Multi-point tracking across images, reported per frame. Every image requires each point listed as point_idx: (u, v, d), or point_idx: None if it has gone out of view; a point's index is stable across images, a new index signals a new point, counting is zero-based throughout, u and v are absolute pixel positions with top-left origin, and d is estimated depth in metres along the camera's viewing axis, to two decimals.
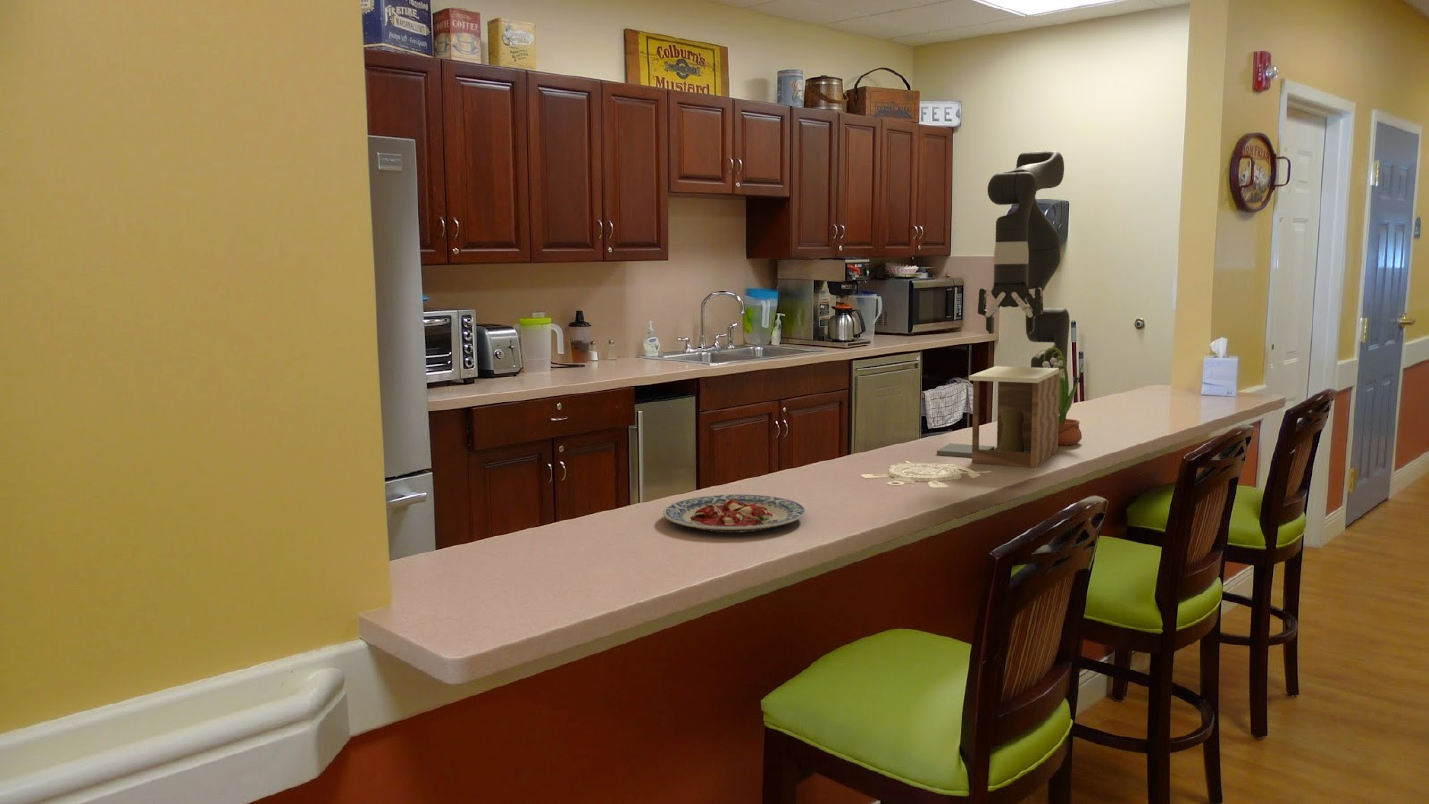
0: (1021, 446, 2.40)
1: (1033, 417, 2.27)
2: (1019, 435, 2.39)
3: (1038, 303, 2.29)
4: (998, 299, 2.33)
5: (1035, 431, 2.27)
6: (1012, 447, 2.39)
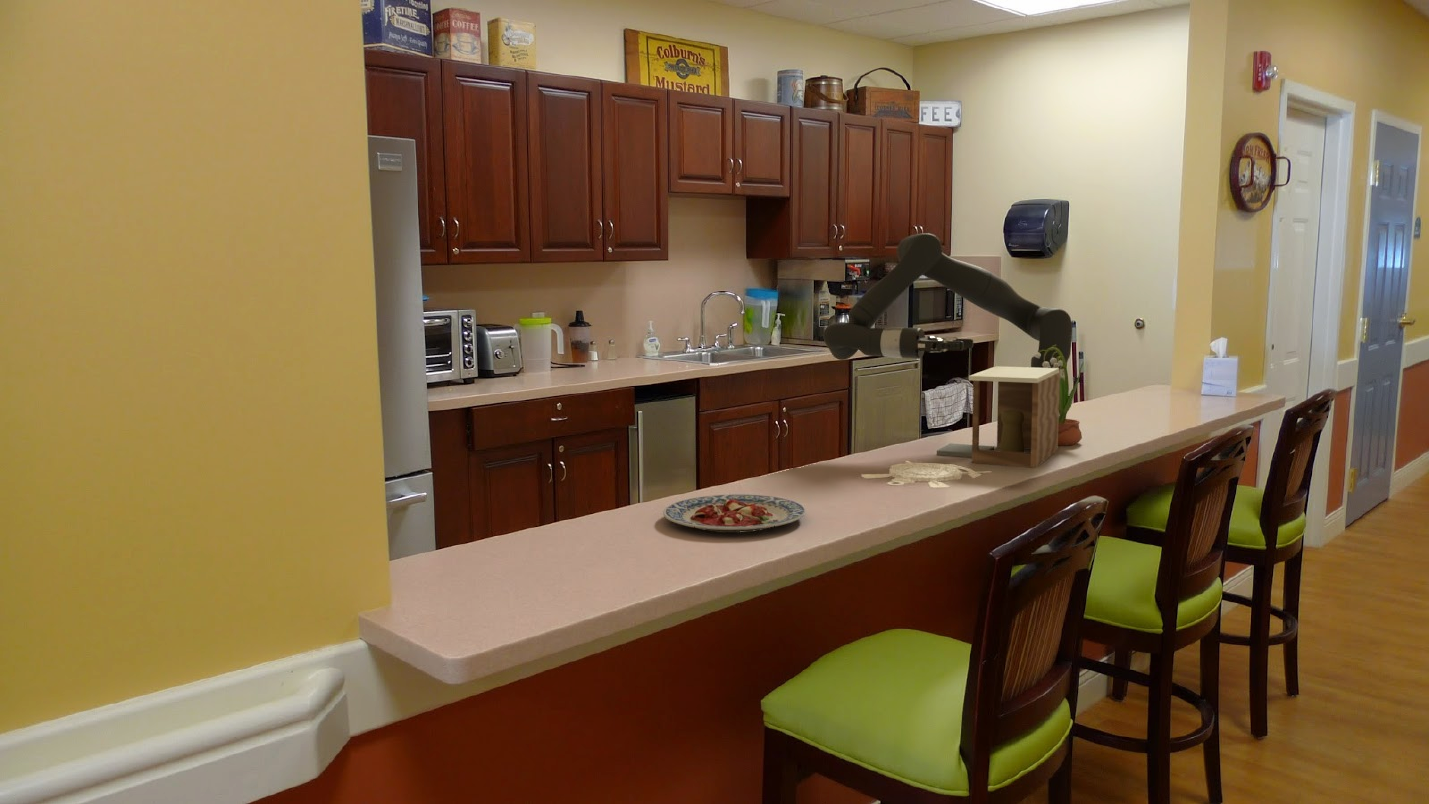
0: (1021, 446, 2.40)
1: (1033, 417, 2.27)
2: (1019, 435, 2.39)
3: (931, 350, 2.42)
4: None
5: (1035, 431, 2.27)
6: (1012, 447, 2.39)
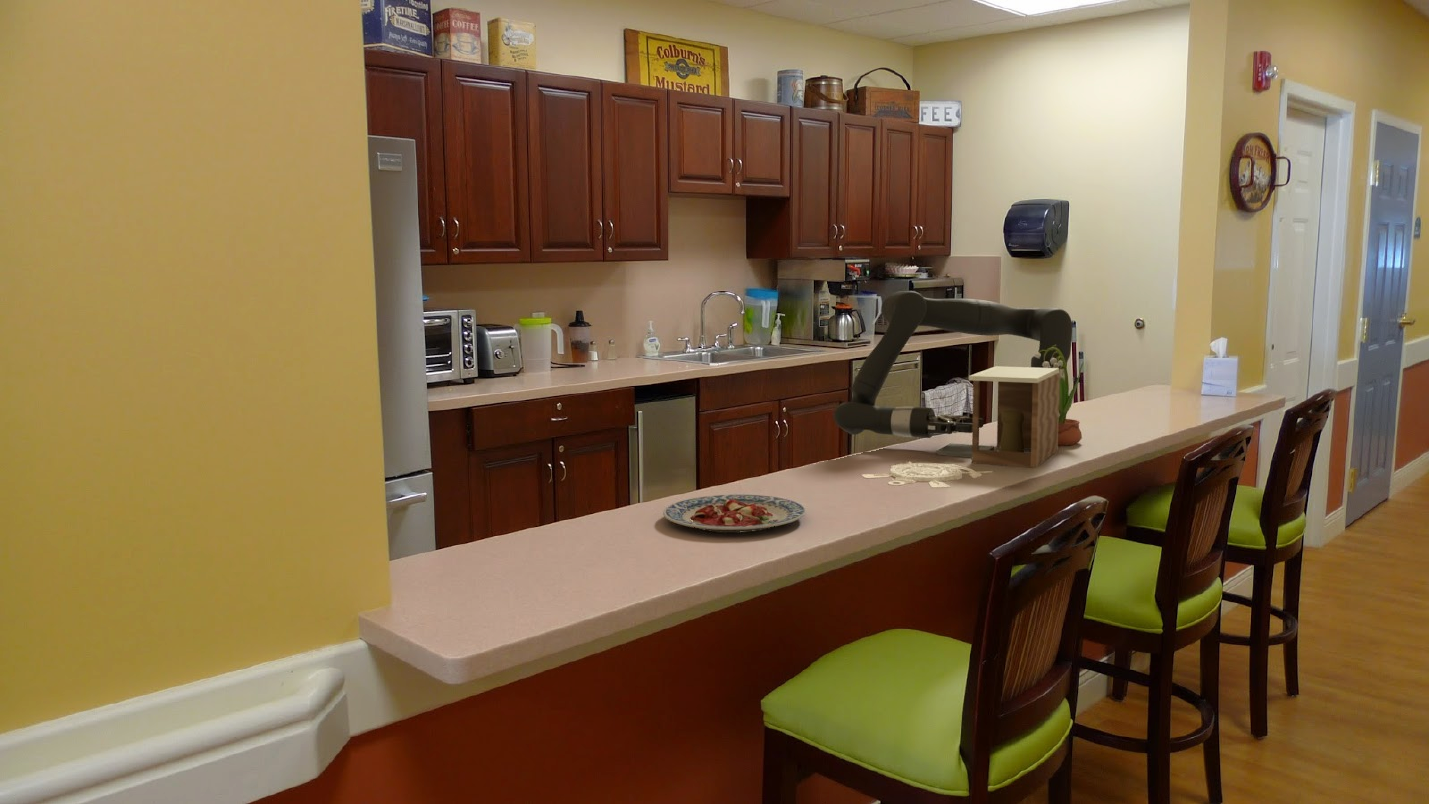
0: (1021, 446, 2.40)
1: (1033, 417, 2.27)
2: (1019, 435, 2.39)
3: (941, 432, 2.43)
4: None
5: (1035, 431, 2.27)
6: (1012, 447, 2.39)
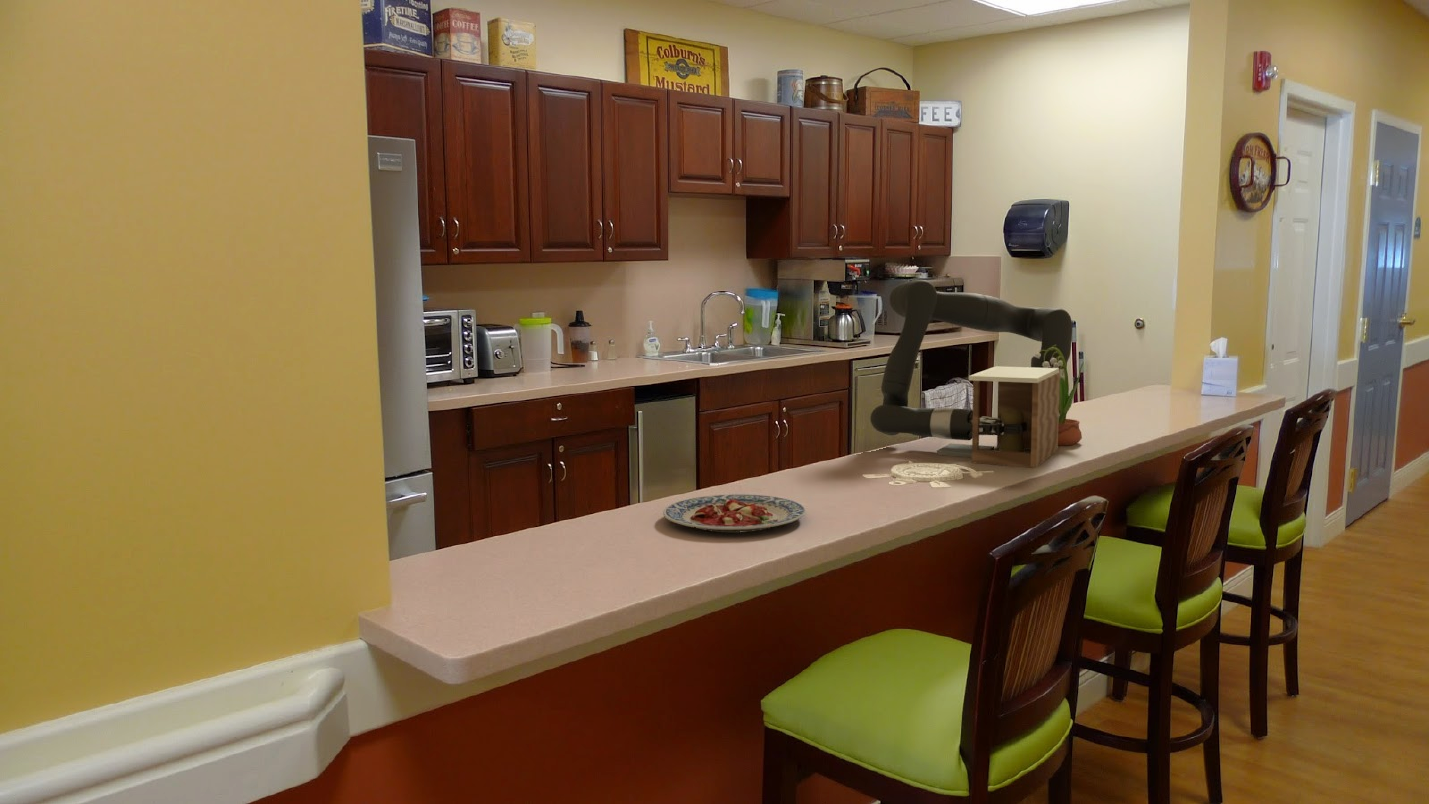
0: (1021, 446, 2.40)
1: (1033, 417, 2.27)
2: (1019, 435, 2.39)
3: (989, 434, 2.39)
4: None
5: (1035, 431, 2.27)
6: (1012, 447, 2.39)
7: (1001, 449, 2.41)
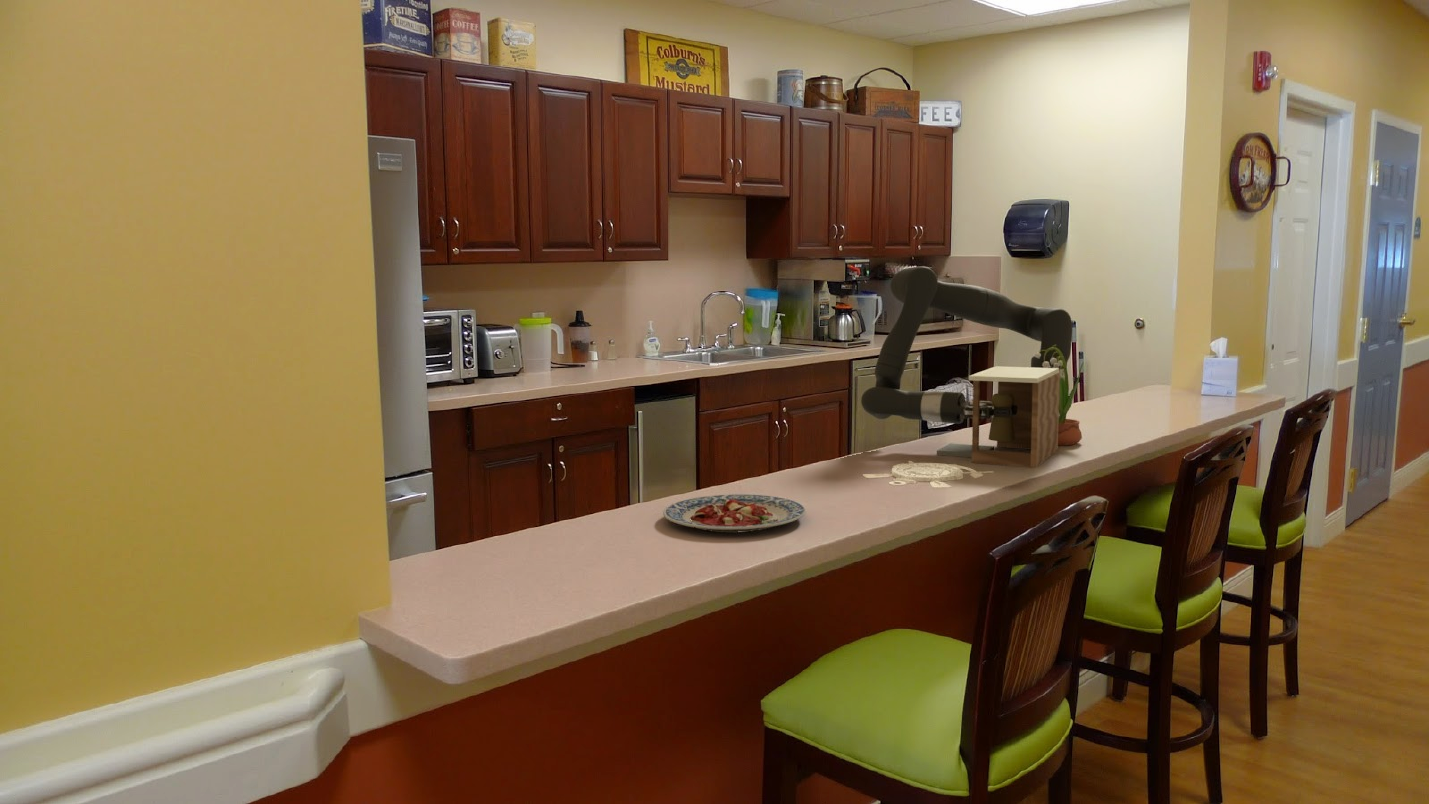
0: (1011, 429, 2.40)
1: (1033, 417, 2.27)
2: (1009, 418, 2.40)
3: (979, 417, 2.39)
4: None
5: (1035, 431, 2.27)
6: (1002, 430, 2.40)
7: (991, 432, 2.42)
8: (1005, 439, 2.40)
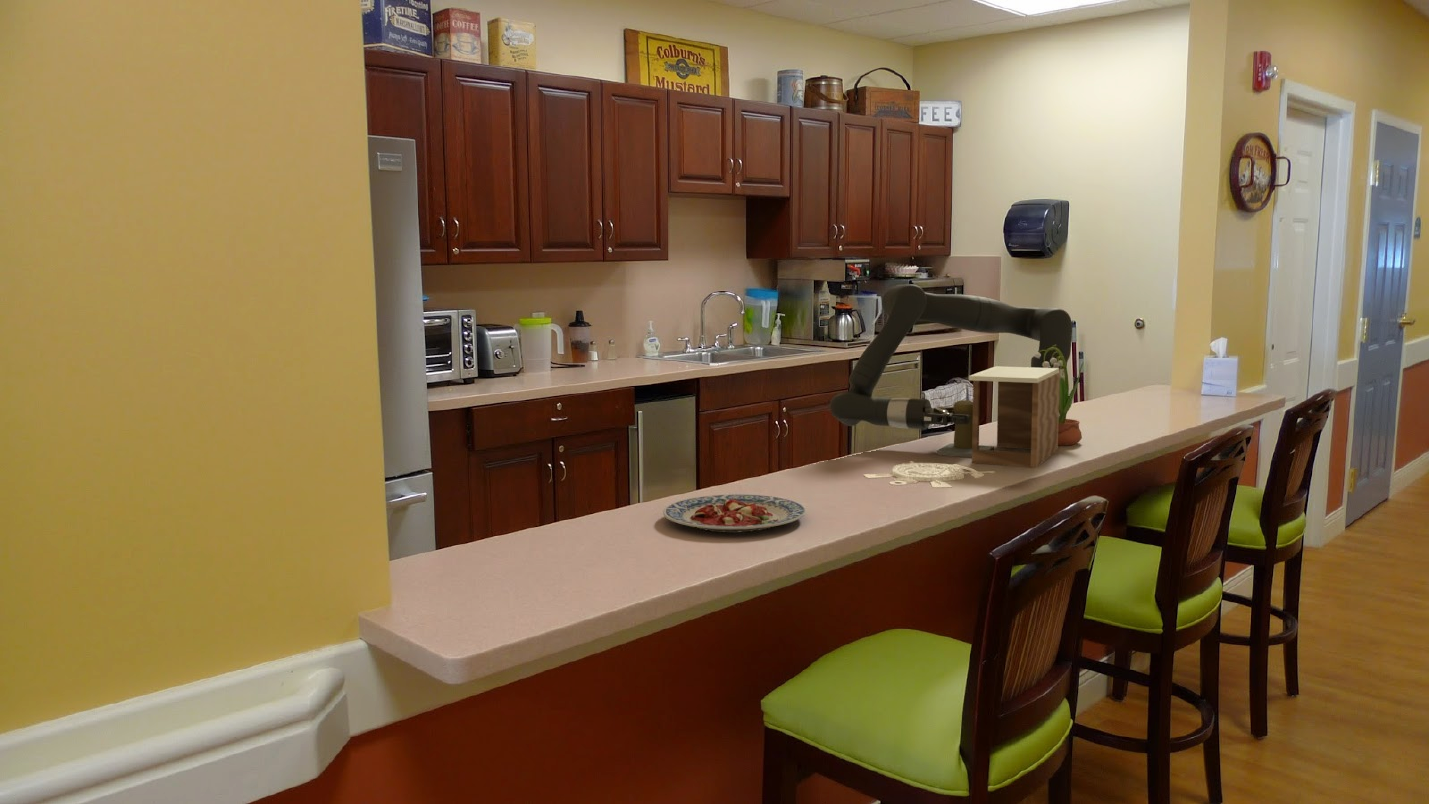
0: None
1: (1033, 417, 2.27)
2: (971, 426, 2.47)
3: None
4: None
5: (1035, 431, 2.27)
6: (965, 437, 2.47)
7: (955, 439, 2.49)
8: (969, 446, 2.47)
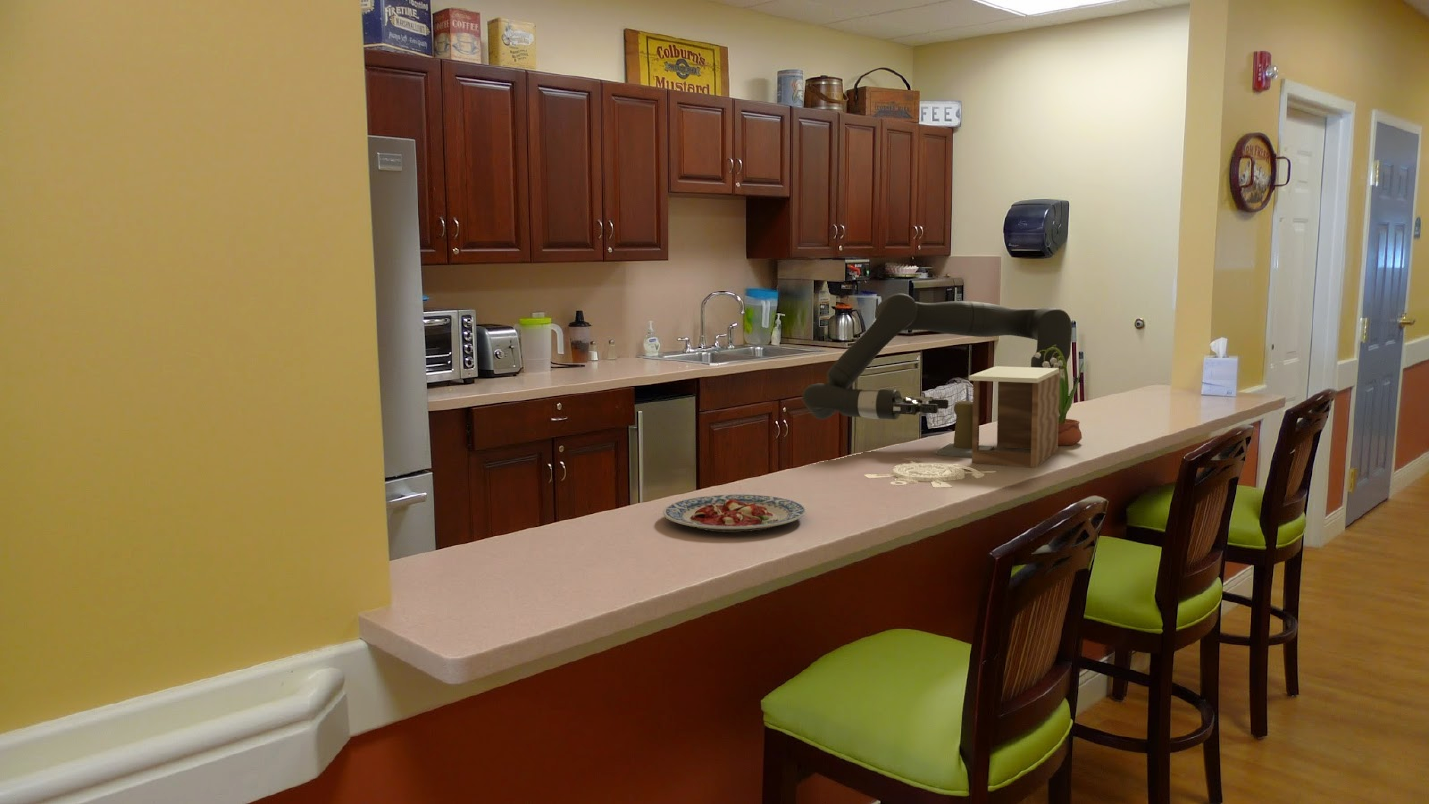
0: None
1: (1033, 417, 2.27)
2: (971, 426, 2.47)
3: (906, 413, 2.47)
4: None
5: (1035, 431, 2.27)
6: (965, 437, 2.47)
7: (955, 440, 2.49)
8: (969, 446, 2.47)
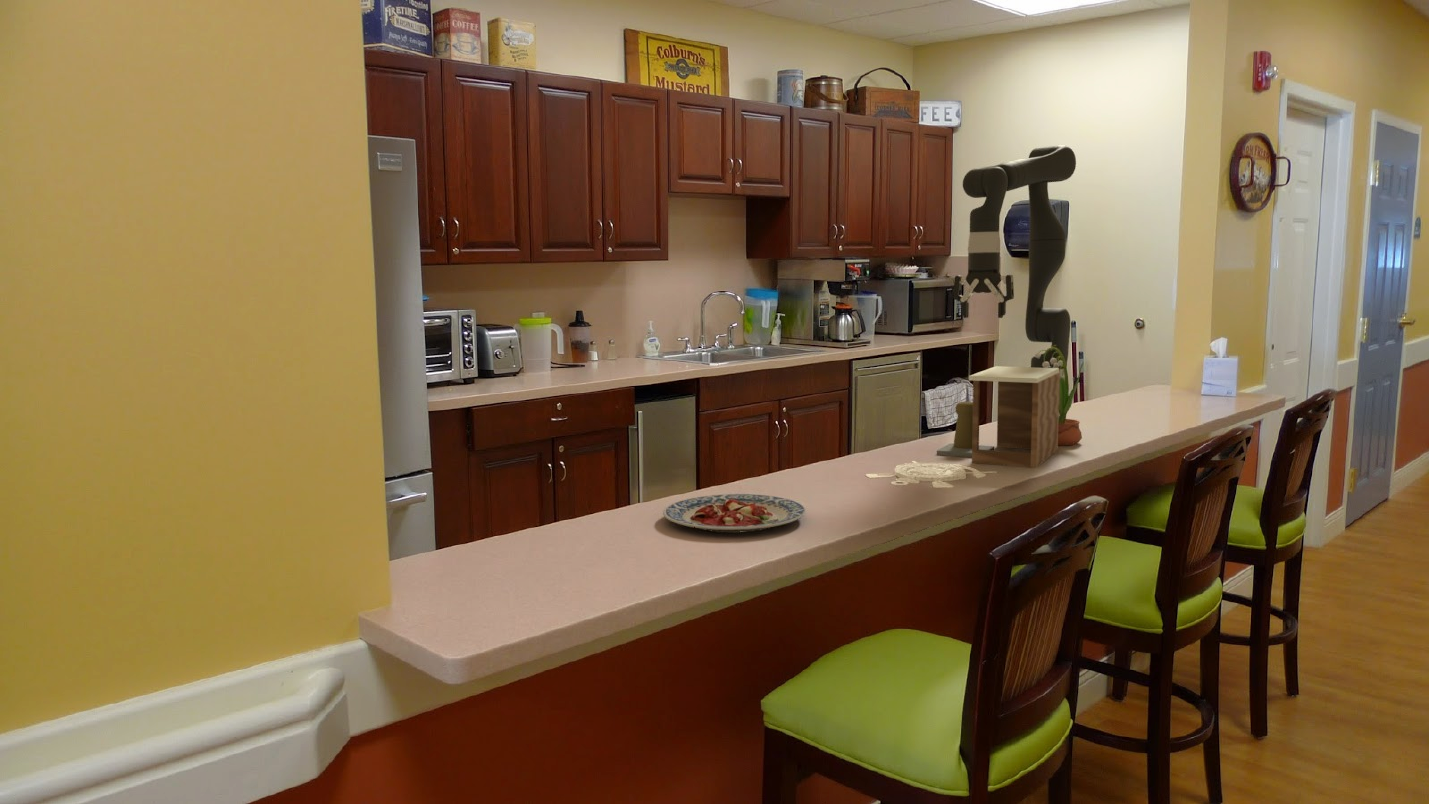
0: None
1: (1033, 417, 2.27)
2: (972, 426, 2.48)
3: (1009, 289, 2.46)
4: (972, 286, 2.50)
5: (1035, 431, 2.27)
6: (966, 437, 2.47)
7: (955, 440, 2.49)
8: (969, 446, 2.47)
